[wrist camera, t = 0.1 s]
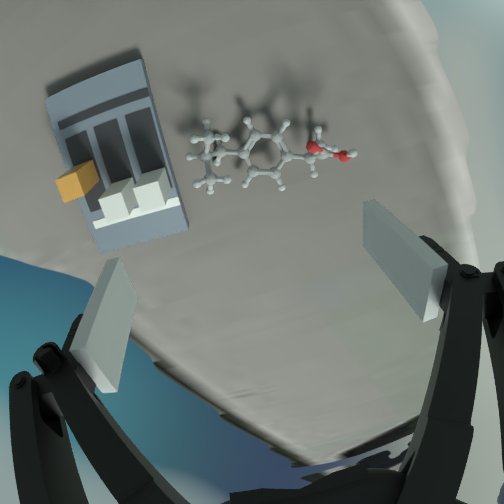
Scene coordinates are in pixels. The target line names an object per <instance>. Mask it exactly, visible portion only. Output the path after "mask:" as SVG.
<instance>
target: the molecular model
mask: <svg viewBox="0 0 504 504" xmlns="http://www.w3.org/2000/svg"><path fill="white" fill-rule="evenodd" d="M210 122H211V120H210V119H209V118H204V119H203V121H202V123H203V125H204V126H205V132H204V133H203V135H202V136H196V135H192V136H191V137H190V142H191V143H197V142H198V141H203V142H204V143H205V148H204V150H203V151H202V152H201V153H200V154H192V153H187V154H186V159H187V160H192V159H201V161H203V162H205V167H206V172H207V173H206V175H205V177H204V179H201V180H194V182H193V186H194V187H195V188H198V187H201V184H204V183H206V184H207V185H208V188H207V189H206V191H207V193H208V194H213V193H214V188H213V184H215V182H216V181H217V182H224V183H226V184H228V183H230V182H231V177H230V176H229V175H226V176H224V177H218V176H216V174H215V173H212V170H211V166H210V161H211V159H212V157H213V156H217V158H216V159H215V160H214V161H213V162H214V165H215V166H219V165H220V164H221V161H220V159H221V158H222V157H224V156H225V155H226V154H231V155H238V156H239V157H240V158H243V159H245V161H246V162H247V164H248V166H249V168H248V174H249V175H248V176H247V178H246V179H245V180H244V181H242V183H241V185H242V187H244V188H246V187H248V185H249V182H250V180H251V178H252V177H255V176H257V175H258V174H259V175H270V176H271V177H272V178H275V179H276V181H277V183H278V188H279V190H281V191H284V190H285V188H286V186H285V184H283V183H282V181H281V179H280V175H281V171H280V169H281V167H282V166H283V164H284V163H285V162H289V161H291V160H292V158H294V159H303V160H305V162H307V163H309V165H310V169H311V172H310V175H311V177H314V178H316V177H317V175H318V172H317V171H316V170H315V166H314V162H315V160H316V158H318V159H321V160H322V159H326V158H327V157H328V156H329V157H338V158H339V159H340V160H341V161H343V162H345V161H348V160H349V158H350V157H355V156H357V151H356V150H355V149H350V150H349V152H347V151H346V150H345V151H340V153H336V152H338V147H337V146H329V145H325V143H324V141H323V140H321V131H322V128H321V126H316V127H315V128H314V130H315V132H316V139H317V140H316V141H315V142H314V141H311V142H308V144H307V146H306V148H307V150H308V153H306V154H305V155H301V154H292V152H291V151H290V150H288V148H287V146H286V144H285V142H284V140H283V134H282V133H283V131H284V130H285V128H286V127H287V126H289V125H290V120H288V119H284V120H283V121H282V125H281V127H280V128H279V130H278V131H274V132H273V133H272V134H261V133H260V131H258V130H256V129H254V127H253V126H252V124H251V118H250V117H244V118H243V122H244V123H245V124H247V126H248V128H249V130H250V133H249V138H248V140H247V141H246V143H245V144H244V146H243V147H241V148H240V149H238V150H227V149H226V148H225V147H224V146H221V142H220V140H222V141H223V142H227V141H228V140H229V139H230V137H229V135H228V134H226V133H224V134H222V135H220V134H215V135H214V134H213V132H211V131H210V126H209V125H210ZM260 138H271V140H272V141H274V142H275V143H276V144H277V146H278V148H279V150H280V152H281V160H280V162H279V163H278V165H277V166H276V167H272V168H270V170H266V169H259V168H258V167H257V166H255V165H252V163H251V161H250V159H249V157H248V156H249V153H250V150H251V149H252V147H253V146H254V144H255V143H256V141H258V140H259V139H260ZM214 140H215V141H216V144H217V148H216V149H215V151H213V152H210V151H209V148H210V144H211V143H213V142H214ZM327 149H328V150H331V151H332V152H328V150H327Z"/></svg>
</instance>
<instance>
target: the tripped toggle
mask: <svg viewBox="0 0 504 504" xmlns="http://www.w3.org/2000/svg"><path fill="white" fill-rule="evenodd" d="M99 180H100V179H99V177H98V174H97V171H96V168H95V165H94V162H93V159H92V160H90V161H87V162H84V163H82V164H79V165H77V166H74V167H73V168H71V169H70V170H69V171H67V172H66V173H64V174H63V175H62V176H60V177H59V178H58V179H57V180H56V183H57V186H58V188H59V191H60V194H61V196H62V199H63V201H64V203H66V202H68V201H71V200H74V199H77V198H79V197H82V196H85V195H86V194H87V193H88V191H89V190H90V189H91V188H92V187H93V186H94V185H95V184H96V183H97V182H98V181H99Z"/></svg>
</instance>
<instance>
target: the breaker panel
mask: <svg viewBox="0 0 504 504" xmlns="http://www.w3.org/2000/svg"><path fill="white" fill-rule="evenodd" d="M45 102H46V106H47V110H48V113H49V117H50V120H51V124H52V127H53V131H54V134H55V137H56V140H57V144H58V147H59V150H60V153H61V156H62V159H63V162H64V165H65V168H66V170H67V171H69V170H70V169H71V168H73V167H74V166H77V165H79V164H82V163H84V162H87V161H90V160H92V159H93V162H94V165H95V168H96V171H97V174H98V177H99V179H100V180H99V181H98V182H97V183H96V184H95V185H94V186H93V187H92V188H91V189H90V190H89V191H88V193H87V194H86V195H85V196H82V197H79V198H77V200H78V203H79V205H80V208H81V210H82V213H83V215H84V217H85V220H86V222H87V225H88V227H89V229H90V232H91V234H92V236H93V239H94V241H95V243H96V245H97V248H98V250H99V252H100V254H101V253H104V252H108V251H111V250H115V249H119V248H122V247H126V246H130V245H133V244H137V243H141V242H145V241H148V240H152V239H156V238H160V237H164V236H168V235H171V234H175V233H179V232H183V231H187V230H189V221H188V218H187V215H186V212H185V209H184V205H183V202H182V199H181V196H180V192H179V189H178V186H177V182H176V179H175V175H174V172H173V169H172V165H171V162H170V158H169V155H168V151H167V148H166V144H165V141H164V137H163V133H162V130H161V126H160V122H159V119H158V115H157V111H156V107H155V103H154V100H153V96H152V92H151V88H150V84H149V80H148V76H147V72H146V68H145V64H144V60H142V59H139V60H136V61H133V62H130V63H127V64H124V65H122V66H119V67H116V68H114V69H111V70H108V71H106V72H103V73H101V74H98V75H96V76H94V77H91V78H89V79H86V80H84V81H82V82H80V83H77V84H75V85H73V86H71V87H69V88H66V89H64V90H62V91H60V92H58V93H56V94H54V95H52V96H50V97H48V98H46V99H45Z"/></svg>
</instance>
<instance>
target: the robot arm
mask: <svg viewBox="0 0 504 504" xmlns="http://www.w3.org/2000/svg"><path fill="white" fill-rule="evenodd" d="M362 206H363V247H364V248H365V249H366V250H367V251H368V253H369V254H370V255H371V256H372V258H373V259H374V260H375V261H376V262H377V264H378V265H379V266H380V267H381V269H382V270H383V271H384V272H385V274H386V275H387V276H388V277H389V279H390V280H391V281H392V282H393V284H394V285H395V286H396V287H397V289H398V290H399V291H400V293H401V294H402V295H403V297H404V298H405V299H406V300H407V302H408V303H409V304H410V306H411V307H412V308H413V310H414V311H415V312H416V314H417V315H418V316H419V318H420V319H421V321H422V322H425V321H428V320H430V319H433V318H436V317H437V315H438V310H439V306H440V307H441V309H442V310H443V311H444V315H443V319H442V322H441V326H440V336H439V341H438V346H437V351H436V356H435V360H434V365H433V369H432V373H431V377H430V381H429V385H428V389H427V392H426V396H425V399H424V403H423V406H422V410H421V413H420V416H419V419H418V422H417V425H416V428H415V431H414V434H413V437H412V440H411V443H410V446H409V448H408V451H407V453H406V456H405V458H404V460H403V462H402V464H401V466H400V469H399V471H398V472H397V471H394V470H390V469H383V468H369V469H367V466H366V464H365V462H364V463H361V464H358V465H355V466H352V467H349V468H346V469H343V470H339V471H336V472H333V473H331V474H329V475H327V476H325V477H323V478H321V479H319V480H318V481H316V482H314V483H312V484H310V485H308V486H305V487H303V488H301V489H266V488H265V489H264V488H262V489H257V490H249V491H242V492H235V493H230V500H229V501H226V502H224V503H222V504H467V503H464V502H462V501H460V500H457V499H456V496H457V493H458V490H459V487H460V484H461V480H462V477H463V474H464V470H465V466H466V463H467V459H468V455H469V451H470V447H471V442H472V438H473V431H474V429H473V426H471V417H472V411H473V406H474V400H475V393H476V386H477V378H478V370H479V360H480V349H481V335H482V322H483V326H484V330H485V334H486V338H487V342H488V347H489V352H490V357H491V362H492V367H493V373H494V379H495V385H496V392H497V400H498V408H499V417H500V428H501V444H502V460H503V471H504V261H503V262H498V263H497V264H496V265H495V268H494V271H493V272H488V273H481V272H480V270H479V269H478V268H476V267H474V266H472V265H469V264H461V265H460V264H459V263H458V262H457V261H456V260H455V259H454V258H453V257H452V256H451V255H450V254H448V253H447V252H446V251H444V249H443V248H442V247H441V246H439V245H438V244H437V243H436V242H435V241H434V240H433V239H431V238H428V237H426V236H424V235H423V236H419V237H418V236H417V235H416V234H415V233H414V232H413V231H412V230H410V229H409V228H408V227H407V226H406V225H405V224H404V223H402V222H401V221H400V220H399V219H398V218H397V217H395V216H394V215H393V214H392V213H391V212H389V211H388V210H387V209H386V208H385V207H383V206H382V205H381V204H380V203H379V202H377V201H376V200H370V201H365V202H362ZM137 300H138V296H137V294H136V292H135V290H134V288H133V286H132V284H131V281H130V279H129V277H128V275H127V273H126V270H125V268H124V266H123V264H122V261H121V259H120V257H118V258H114V259H110V260H107V262H106V264H105V266H104V268H103V271H102V273H101V275H100V277H99V279H98V281H97V284H96V286H95V288H94V290H93V293H92V295H91V297H90V300H89V302H88V305H87V307H86V309H85V312H84V313H83V314H79V315H78V317H77V318H76V319H75V320H74V322H73V323H72V326H71V328H70V331H69V333H68V335H67V338H66V341H65V343H64V345H63V348H62V350H60V348H59V347H58V345H57V344H56V343H54V342H48V343H45V344H43V345H42V346H41V347H40V348H38V349H37V351H36V352H35V354H34V356H33V362H34V364H35V365H36V366H37V367H38V369H39V370H40V371H41V372H42V374H41V375H39V376H36V377H32V376H31V374H30V373H29V372H27V371H22V372H19V373H18V374H16V375H15V376H14V377H13V378H12V380H11V382H10V386H9V409H10V410H9V411H10V432H11V445H12V454H13V462H14V471H15V478H16V484H17V490H18V495H19V500H20V504H89V503H88V500H87V498H86V494H85V492H84V489H83V485H82V482H81V479H80V476H79V473H78V469H77V466H76V463H75V459H74V455H73V452H72V448H71V444H70V440H69V436H68V431H67V427H66V422H67V424H68V425H69V427H70V429H71V431H72V432H73V434H74V436H75V438H76V440H77V441H78V443H79V445H80V446H81V448H82V450H83V451H84V453H85V455H86V456H87V458H88V460H89V461H90V463H91V464H92V466H93V467H94V469H95V470H96V472H97V473H98V475H99V476H100V478H101V479H102V481H103V482H104V483H105V485H106V487H107V488H108V489H109V491H110V492H111V494H112V495H113V496H114V498H115V499H116V500H117V502H118V503H119V504H190V503H189V502H188V501H187V500H185V499H184V498H183V497H182V496H181V495H180V494H179V493H178V492H177V491H176V490H175V489H174V488H173V487H172V486H171V485H170V484H169V483H168V482H167V481H166V479H165V478H164V477H163V476H162V475H161V474H160V473H159V472H158V471H157V470H156V469H155V468H154V467H153V465H152V464H151V463H150V462H149V461H148V460H147V459H146V458H145V456H144V455H143V454H142V453H141V452H140V451H139V450H138V448H137V447H136V446H135V445H134V443H133V442H132V441H131V440H130V439H129V437H128V436H127V435H126V434H125V432H124V431H123V430H122V429H121V427H120V426H119V425H118V423H117V422H116V421H115V420H114V418H113V417H112V416H111V414H110V413H109V412H108V410H107V409H106V408H105V406H104V405H103V403H102V402H101V400H100V399H99V398H98V396H97V395H96V394H95V393H94V391H95V387H96V386H97V387H98V388H99V389H100V391H101V392H102V393H111V392H117V391H118V386H119V381H120V375H121V370H122V365H123V360H124V355H125V351H126V346H127V342H128V337H129V333H130V328H131V324H132V320H133V316H134V312H135V308H136V304H137ZM65 420H66V422H65ZM497 502H498V504H504V483H503V485H502V487H501V489H500V494H499V496H498V499H497Z"/></svg>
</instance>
